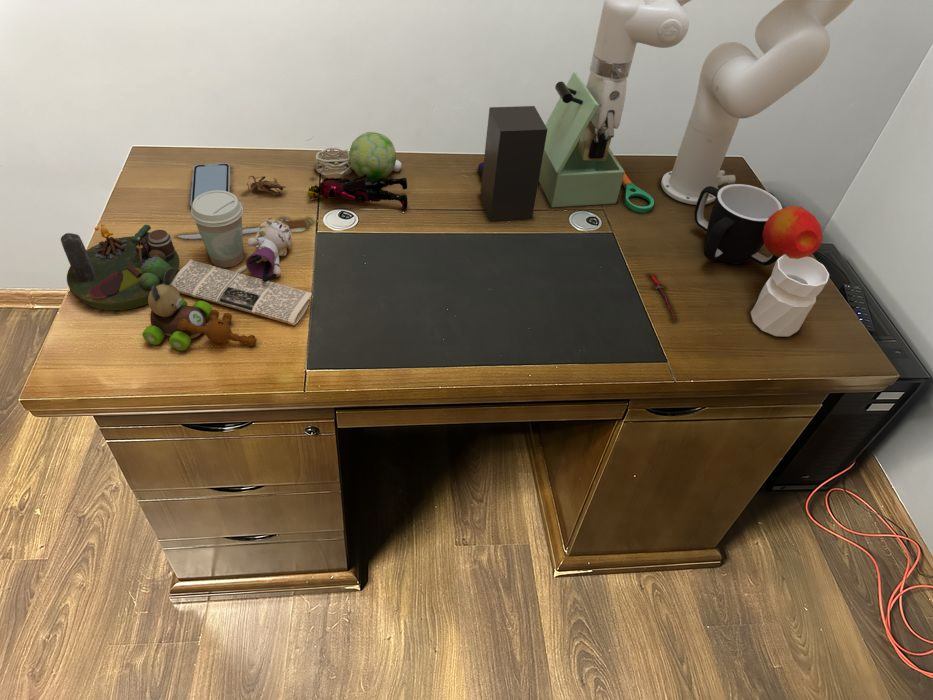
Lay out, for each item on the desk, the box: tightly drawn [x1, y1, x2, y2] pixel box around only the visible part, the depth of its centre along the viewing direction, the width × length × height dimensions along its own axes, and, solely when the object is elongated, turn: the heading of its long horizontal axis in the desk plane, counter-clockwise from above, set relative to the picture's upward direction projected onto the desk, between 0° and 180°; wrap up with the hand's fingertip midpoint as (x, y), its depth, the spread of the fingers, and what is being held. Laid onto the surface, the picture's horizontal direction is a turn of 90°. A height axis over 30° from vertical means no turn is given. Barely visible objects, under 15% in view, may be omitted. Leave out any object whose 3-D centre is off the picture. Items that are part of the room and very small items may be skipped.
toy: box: [234, 216, 293, 282], centre depth 124 cm, size 8×10×15 cm
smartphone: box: [190, 162, 231, 208], centre depth 140 cm, size 7×1×15 cm
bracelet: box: [314, 146, 354, 177], centre depth 147 cm, size 4×8×8 cm
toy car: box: [141, 268, 213, 352], centre depth 109 cm, size 9×9×11 cm
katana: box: [649, 274, 675, 321], centre depth 128 cm, size 13×2×1 cm, turn 7°
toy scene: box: [60, 222, 180, 311], centre depth 116 cm, size 18×18×11 cm
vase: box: [750, 254, 830, 338], centre depth 121 cm, size 9×9×12 cm
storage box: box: [538, 141, 626, 208], centre depth 148 cm, size 15×14×8 cm
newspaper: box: [170, 259, 313, 326], centre depth 119 cm, size 24×7×2 cm, turn 73°
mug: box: [693, 183, 783, 266], centre depth 134 cm, size 16×16×12 cm
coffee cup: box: [190, 190, 245, 268], centre depth 122 cm, size 8×8×12 cm
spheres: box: [392, 159, 403, 173], centre depth 153 cm, size 15×2×2 cm
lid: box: [544, 71, 599, 174], centre depth 138 cm, size 15×14×5 cm
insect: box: [244, 175, 287, 196], centre depth 140 cm, size 4×8×5 cm
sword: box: [177, 218, 313, 241], centre depth 132 cm, size 25×1×5 cm
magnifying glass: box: [621, 172, 655, 214], centre depth 151 cm, size 15×6×2 cm, turn 14°
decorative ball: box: [348, 131, 397, 181], centre depth 144 cm, size 10×10×10 cm
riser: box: [479, 105, 548, 222], centre depth 137 cm, size 9×9×20 cm
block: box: [578, 122, 612, 161], centre depth 143 cm, size 5×5×6 cm
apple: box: [763, 205, 824, 259], centre depth 121 cm, size 9×9×12 cm
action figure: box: [303, 174, 409, 211], centre depth 140 cm, size 15×6×20 cm
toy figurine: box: [178, 309, 258, 347], centre depth 111 cm, size 12×4×7 cm
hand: (590, 149), depth 145 cm, fingers closed on block, 5 cm apart
